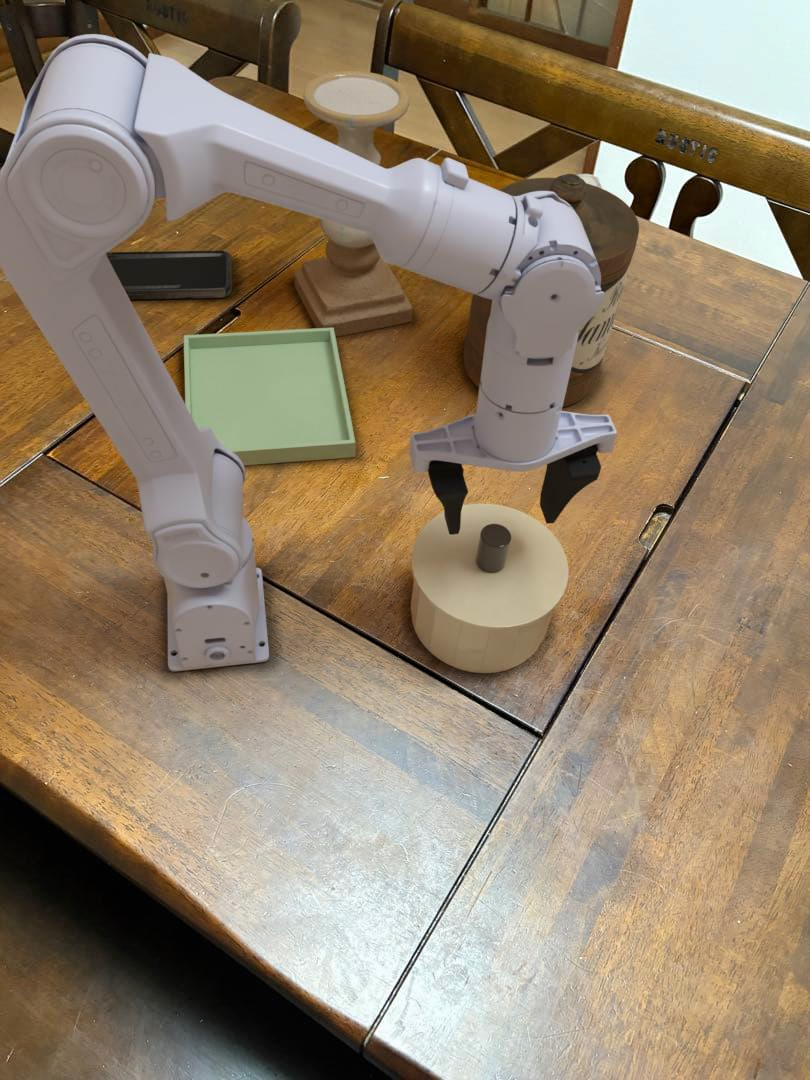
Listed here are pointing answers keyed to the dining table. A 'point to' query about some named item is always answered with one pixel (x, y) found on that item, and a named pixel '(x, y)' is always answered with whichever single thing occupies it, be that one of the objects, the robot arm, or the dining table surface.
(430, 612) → the tin
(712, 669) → the dining table surface
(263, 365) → the tray
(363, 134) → the candle holder
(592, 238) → the wooden container
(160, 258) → the phone
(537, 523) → the lid
